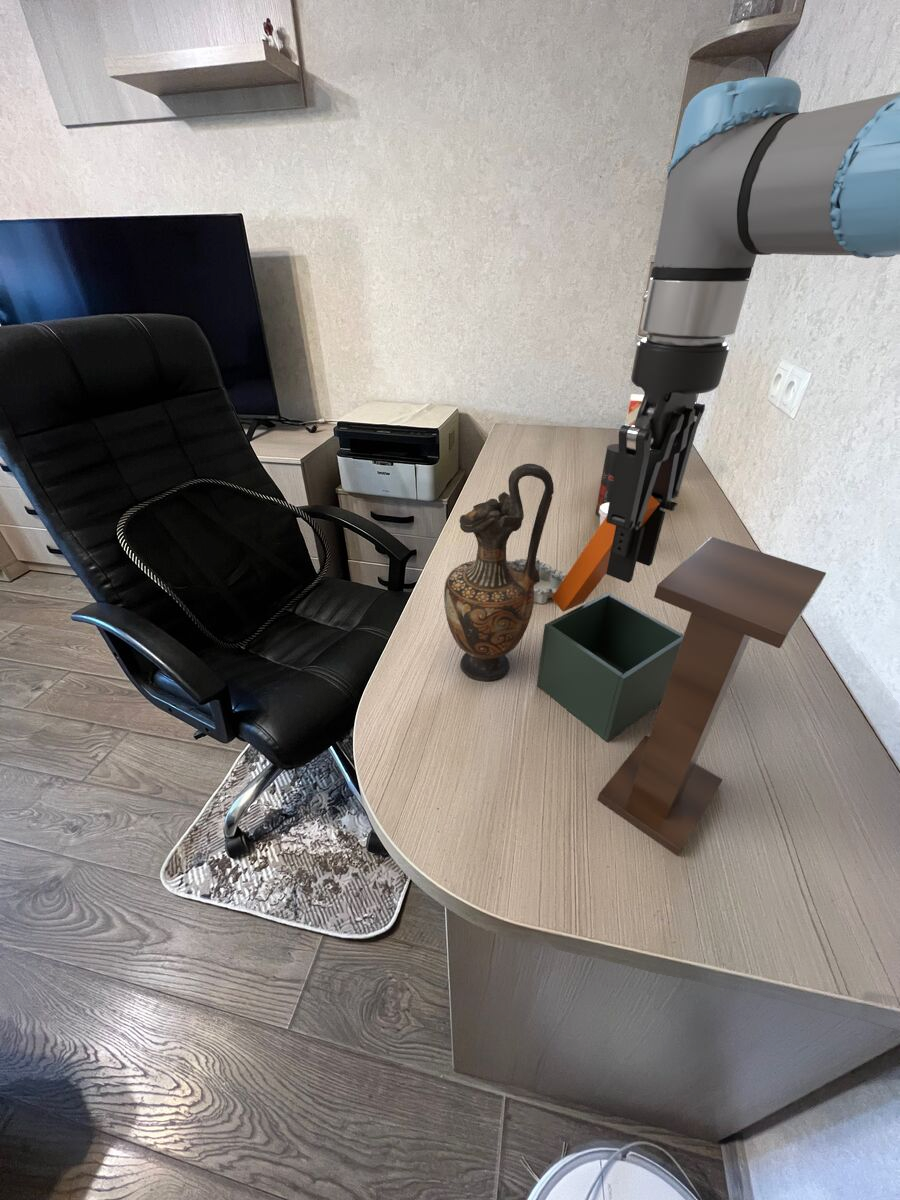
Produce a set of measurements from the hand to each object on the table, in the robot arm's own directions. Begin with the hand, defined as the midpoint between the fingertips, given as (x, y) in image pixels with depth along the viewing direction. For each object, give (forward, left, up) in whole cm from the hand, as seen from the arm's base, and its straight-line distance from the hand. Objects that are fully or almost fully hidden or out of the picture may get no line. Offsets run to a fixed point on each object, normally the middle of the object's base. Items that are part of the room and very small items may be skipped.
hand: (629, 568), depth 57 cm
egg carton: (+24, -11, -20) cm, 33 cm away
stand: (-14, +7, -20) cm, 25 cm away
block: (+5, 0, 0) cm, 5 cm away
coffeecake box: (+46, -73, -20) cm, 89 cm away
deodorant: (+36, -46, -20) cm, 62 cm away
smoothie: (+24, -31, -20) cm, 44 cm away
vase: (+13, +9, -20) cm, 25 cm away
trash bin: (0, 0, -20) cm, 20 cm away
